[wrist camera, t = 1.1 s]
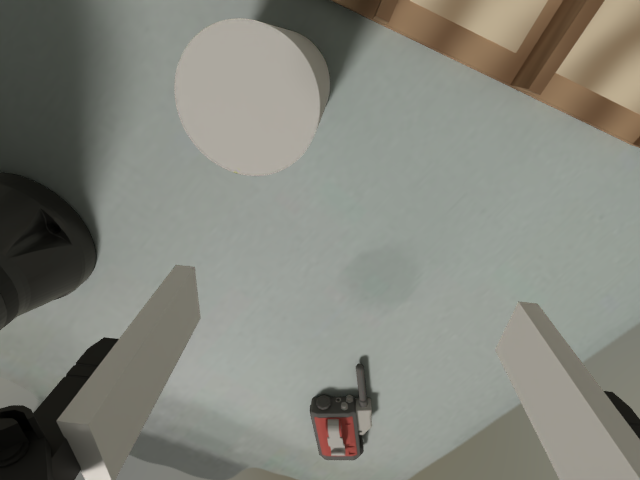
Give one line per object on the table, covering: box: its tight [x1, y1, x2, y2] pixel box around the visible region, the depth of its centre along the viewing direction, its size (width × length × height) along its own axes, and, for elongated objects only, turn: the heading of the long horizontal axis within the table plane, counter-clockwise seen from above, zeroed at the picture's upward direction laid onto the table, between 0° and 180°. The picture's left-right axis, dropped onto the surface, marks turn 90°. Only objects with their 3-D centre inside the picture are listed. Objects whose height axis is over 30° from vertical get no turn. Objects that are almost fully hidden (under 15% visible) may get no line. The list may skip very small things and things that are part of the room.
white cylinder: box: [174, 18, 330, 176], centre depth 24 cm, size 8×8×12 cm
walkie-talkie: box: [310, 364, 372, 460], centre depth 49 cm, size 9×4×20 cm
